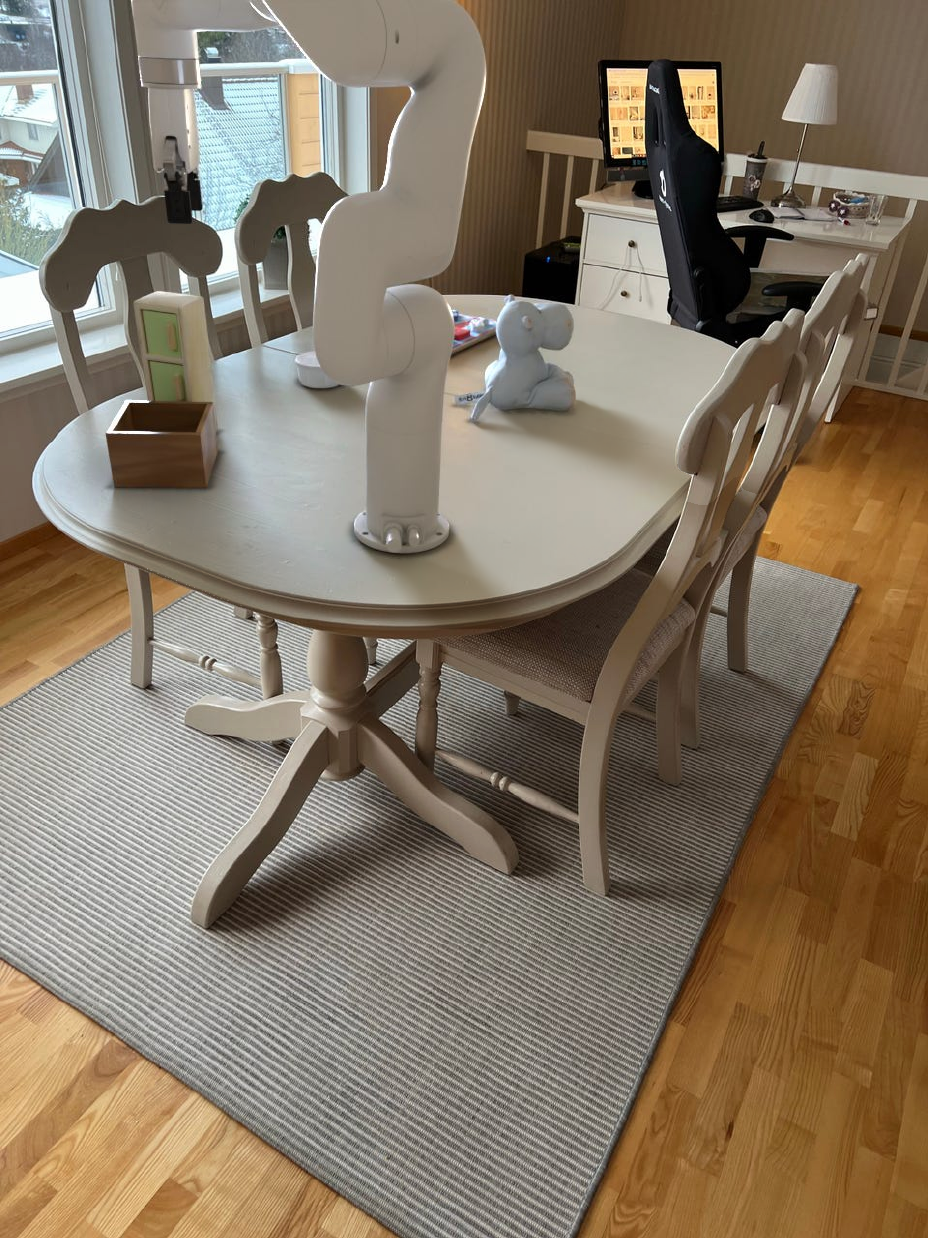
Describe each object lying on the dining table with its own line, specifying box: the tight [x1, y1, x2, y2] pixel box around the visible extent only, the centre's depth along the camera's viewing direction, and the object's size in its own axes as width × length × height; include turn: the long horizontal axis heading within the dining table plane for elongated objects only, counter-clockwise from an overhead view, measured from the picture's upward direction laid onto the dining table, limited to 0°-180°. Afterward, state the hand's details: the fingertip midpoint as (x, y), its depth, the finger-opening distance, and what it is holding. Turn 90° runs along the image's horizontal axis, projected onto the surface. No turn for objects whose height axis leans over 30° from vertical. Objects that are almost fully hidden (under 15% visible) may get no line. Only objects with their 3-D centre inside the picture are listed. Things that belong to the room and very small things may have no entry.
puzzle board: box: [451, 309, 497, 356], centre depth 198 cm, size 30×23×3 cm
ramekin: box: [294, 351, 340, 389], centre depth 170 cm, size 9×9×4 cm
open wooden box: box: [105, 399, 219, 489], centre depth 135 cm, size 13×13×8 cm
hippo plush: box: [454, 294, 577, 422], centre depth 164 cm, size 18×23×18 cm
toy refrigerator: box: [132, 290, 219, 432], centre depth 142 cm, size 8×7×21 cm
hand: (185, 216), depth 130 cm, fingers open, 9 cm apart
